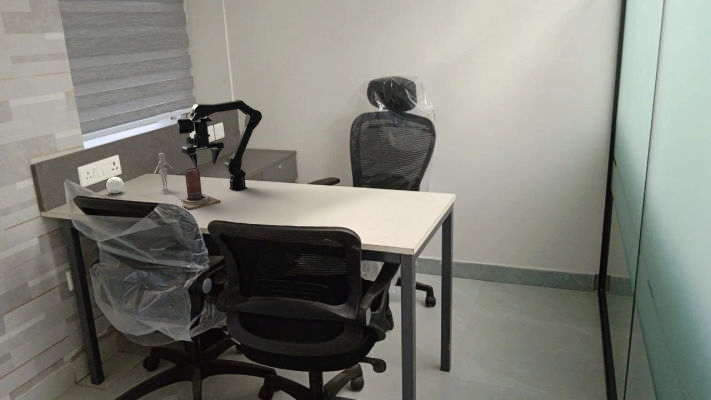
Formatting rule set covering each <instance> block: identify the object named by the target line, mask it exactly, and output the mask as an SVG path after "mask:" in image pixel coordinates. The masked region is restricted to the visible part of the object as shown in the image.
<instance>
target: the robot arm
mask: <svg viewBox="0 0 711 400" xmlns="http://www.w3.org/2000/svg"><path fill="white" fill-rule="evenodd" d="M235 110H239V111H240V112H242V114H244V115H245V116H244V126H243V128H242V131H241V133H240V136H239V138H238V141H237V142H236V146H235V148H234V150H233V152H232V154H231V155H230V156H229V155H226V159H225V161H224V162H223V164H224V169H225V171H226V172H227V173H229V174H230V177H229V189H230V190H232V191H235V192H236V191H242V190H245V189H248V186H247V185H246V184H247V183H246V175H247V174H246V172H245V171H244V170H243V169H242V163H243V156H244V153H245V151H246V148H248V147H247V146H248V144H249V142H250V139H251V137H252V134H253V132H254V130H255V128H257V127H258V125H260V123H261V121H262V118H263V114H262V112H261V111H260V110H258V109H256V108H253V107H252V106H249V105H248V104H247V103H246V102H245V101H243V100H241V99H235V100H231V101H225V102H220V103H219V102H218V103H194V104H193V106H192V107H191V112H190V113H189V116H188V117H187V118H177V119H176V130H177V134H178V135H187V134H193V132H194V134H193V137H191V136H188V137H186V139H185V143H186V145H185V146H184V145H183V146H182V147H181V153H182V154H185V155H186V156H188V157H189V158H190V160H191V162H192V164H193V166H194V168H197V169H198V153H196V152H197V151H203V150H208V149H210V151H211V157H212V159H211V160H212V164H213V165H215V164H216V162H217V160H218V157H219V156H220V153H221V151H223V149H225V143H224V141H219V140H215V141H211V142H210V137H211V134H210V133H209V127H208V126H209V125H208V123H211V122H213V120H212V119H211V118H209V116H212V115H213V114H216V113H217V114H218V113H223V112H230V111H235Z"/></svg>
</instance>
